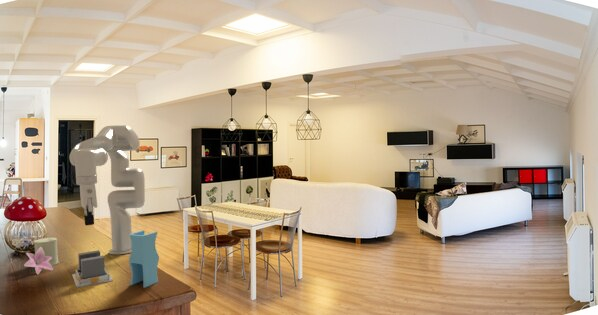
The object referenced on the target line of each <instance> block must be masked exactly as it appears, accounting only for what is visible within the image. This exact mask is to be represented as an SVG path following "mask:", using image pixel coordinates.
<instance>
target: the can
mask: <svg viewBox="0 0 598 315" xmlns="http://www.w3.org/2000/svg"><path fill="white" fill-rule="evenodd" d="M33 243H34V254H36V252H37V250H38V249H39V248H40V247H42V248H43V251H44V254H45V256H51V257H52V259H51V260H49V261H48V262H49V263H50V264H51V266H52V267H53V266H55V265H57V264H59V256H58V254H59V253H58V238H57V237H43V238H39V239H36V240H34V241H33Z"/></svg>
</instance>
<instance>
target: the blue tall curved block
mask: <svg viewBox="0 0 598 315" xmlns="http://www.w3.org/2000/svg"><path fill="white" fill-rule="evenodd" d="M157 236H158V231H154V232H151V233H148V234H145V230H139V231H136V232H133V233H132V234H130V239H131V243H132V251H131V253H130V256H129V259H128V264H129V268H130V272H131V279H130V284H129V285H130V286H133V285H135V284H138V283H140V282H143V284H142V285H143V286H142V287H143V288H145V289H146V288H147V287H151V286H152V285H155V284H156V283H158V282H159V278H158V277H159V276H158V265H159V261H160V256H159V254H158V251H157V248H156V240H157Z"/></svg>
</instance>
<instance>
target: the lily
mask: <svg viewBox="0 0 598 315" xmlns="http://www.w3.org/2000/svg"><path fill="white" fill-rule="evenodd" d="M25 254H26V256H28V258H29V260H27V261H26V262H25V263H24V264H23V266H24V267H28V268H29V267H31V268H32V270H31V271H32V272H33V271H34V270H35V273H36V274H37V275H39V274H40V273H41V271H42V269H45V270H50V271H53V270H54V267H53V265H52V266H51V264H50V263H49V262H48V261H49V260H51V259H52V257H51V256H45V254H44V251H43V248H42V247H40V248H39V249H38V250H37V252H36V254H35V253H31V252H25Z"/></svg>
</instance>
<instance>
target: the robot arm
mask: <svg viewBox="0 0 598 315" xmlns="http://www.w3.org/2000/svg"><path fill="white" fill-rule="evenodd" d="M139 148H140V138H139V136H138V134H137V133H136V132H135V130H134V129H133V128H132V127H130V126H128V125H106V126H104V127H102V128H101V130H100V131H98V133H97V134H96V136H94V137H92V138H89V139H85V140H83V141H81V142H79V143H77V144H76V145H75V146H74V147H73V148H72V149H71V151H70V153H69V162H70V164H71V165H72V166H73V167H75V183H76V185H78V186H79V194H80V205H81V207H82V209H83V212H84V219H83V220H84V225H85V226H86V227H87V226H93V225H94V224H95V217H94V216H95V215H94V208H96V209H97V208H98V199H97V189H96V184H97V183H98V175H97V174H98V172H97V167H101V166H104V165H105V164H106V163H107V162H108V160H109V159H110V165H111V166H110V182H111V183H110V184H111V186H113V187H114V188H134V189H117V190H112V191H111V192H109V193H108V195H107V204H108V208H109V215H110V229H111V230H110V231H111V234H110V235H111V249H109V250H108V254H110V255H112V256H115V255H117V256H118V255H125V254H126V255H127V254H131V251H132V243H131V239H130V234H132V232H133V231H132V216H131V214H130V212H128V210H127V209H140V208H142V207H144V205H145V202H146V201H145V200H146V199H145V198H146V197H145V192H146V188H145V187H146V186H145V185H146V184H145V183H146V182H145V180H146V179H145V173H144V170H143V169H141V168H135V167H134V168H130V159H129V157H128V156H127V154H126V153H125V152H128V151H129V152H132V151H137V150H138V149H139Z"/></svg>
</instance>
